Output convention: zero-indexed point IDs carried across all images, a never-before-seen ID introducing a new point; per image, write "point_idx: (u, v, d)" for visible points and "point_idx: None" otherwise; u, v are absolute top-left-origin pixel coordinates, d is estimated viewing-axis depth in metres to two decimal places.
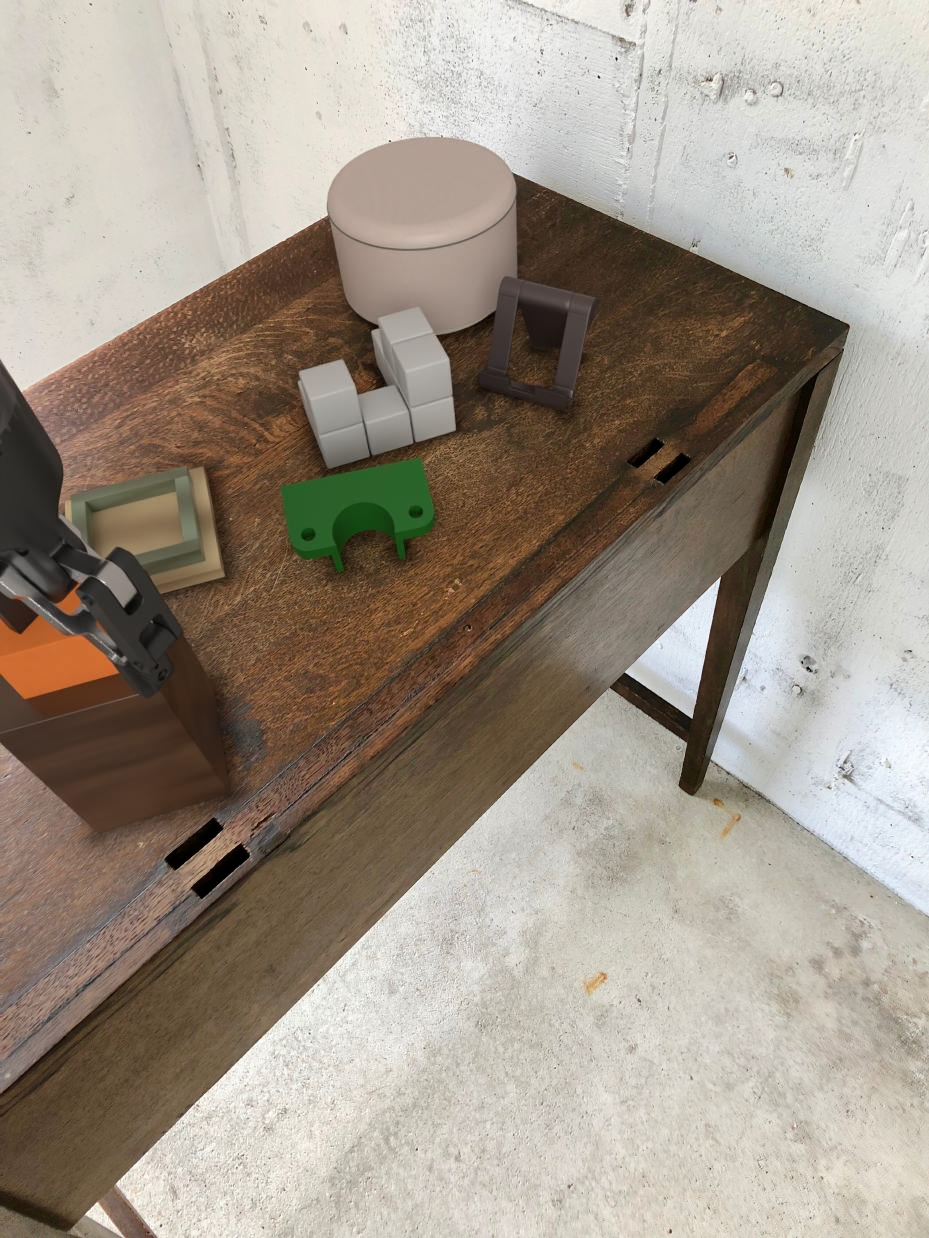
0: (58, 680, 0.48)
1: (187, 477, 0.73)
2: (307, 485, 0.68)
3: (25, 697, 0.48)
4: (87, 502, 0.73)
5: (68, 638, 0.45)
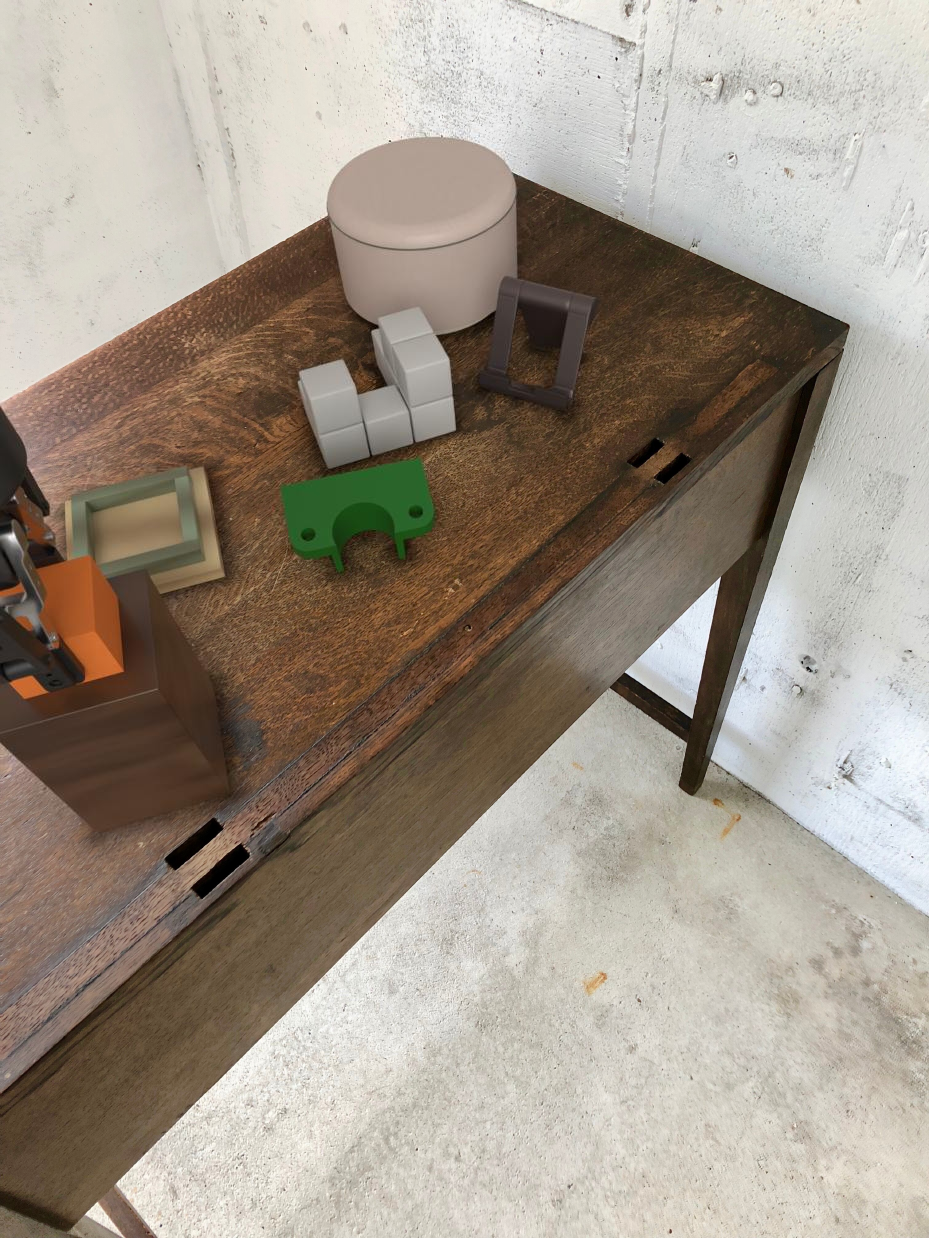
0: None
1: (187, 477, 0.73)
2: (307, 485, 0.68)
3: (25, 697, 0.48)
4: (87, 502, 0.73)
5: (68, 638, 0.45)
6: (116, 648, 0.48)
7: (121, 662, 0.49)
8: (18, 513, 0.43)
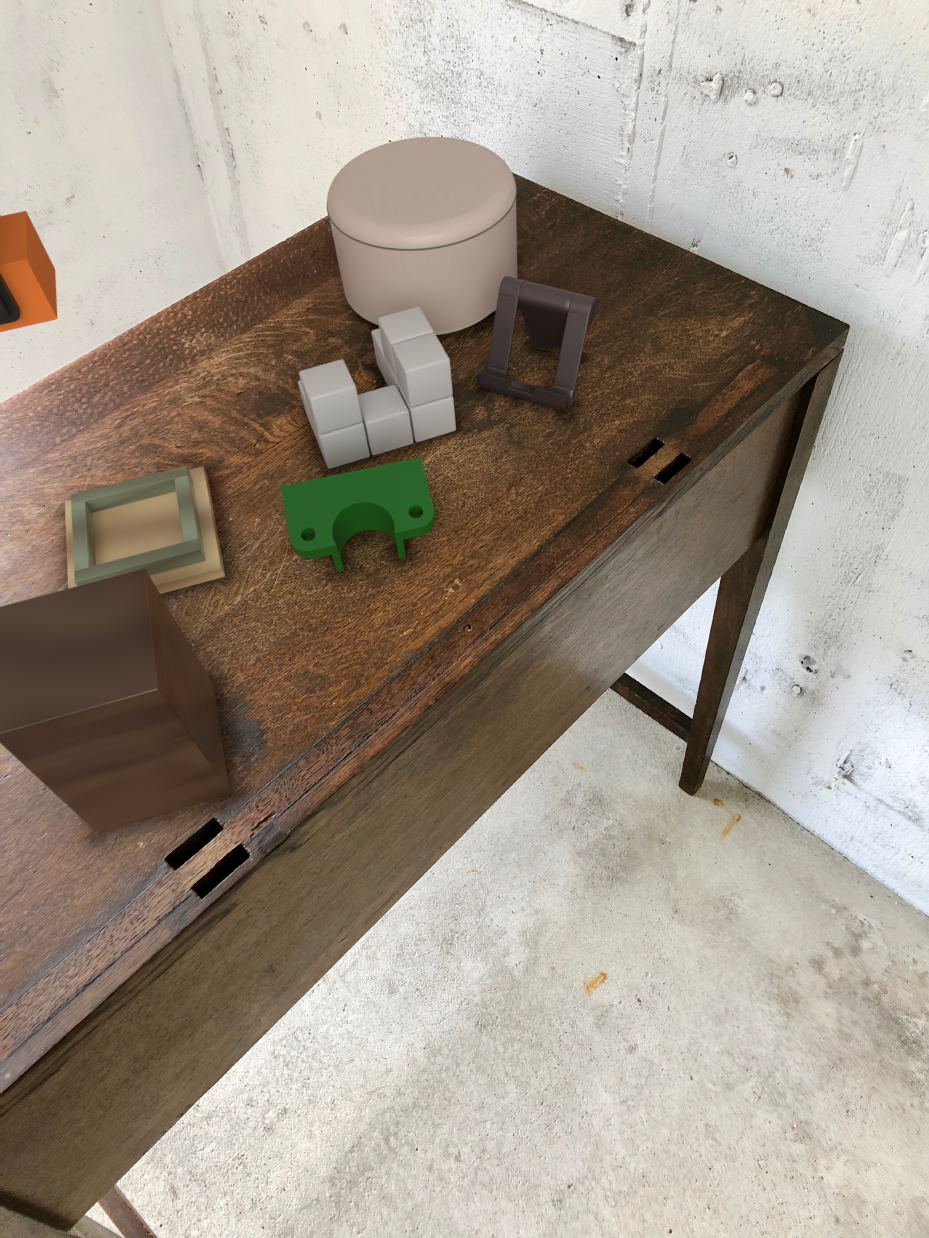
0: None
1: (187, 477, 0.73)
2: (307, 485, 0.68)
3: None
4: (87, 502, 0.73)
5: (2, 264, 0.50)
6: (50, 296, 0.53)
7: (55, 310, 0.53)
8: None
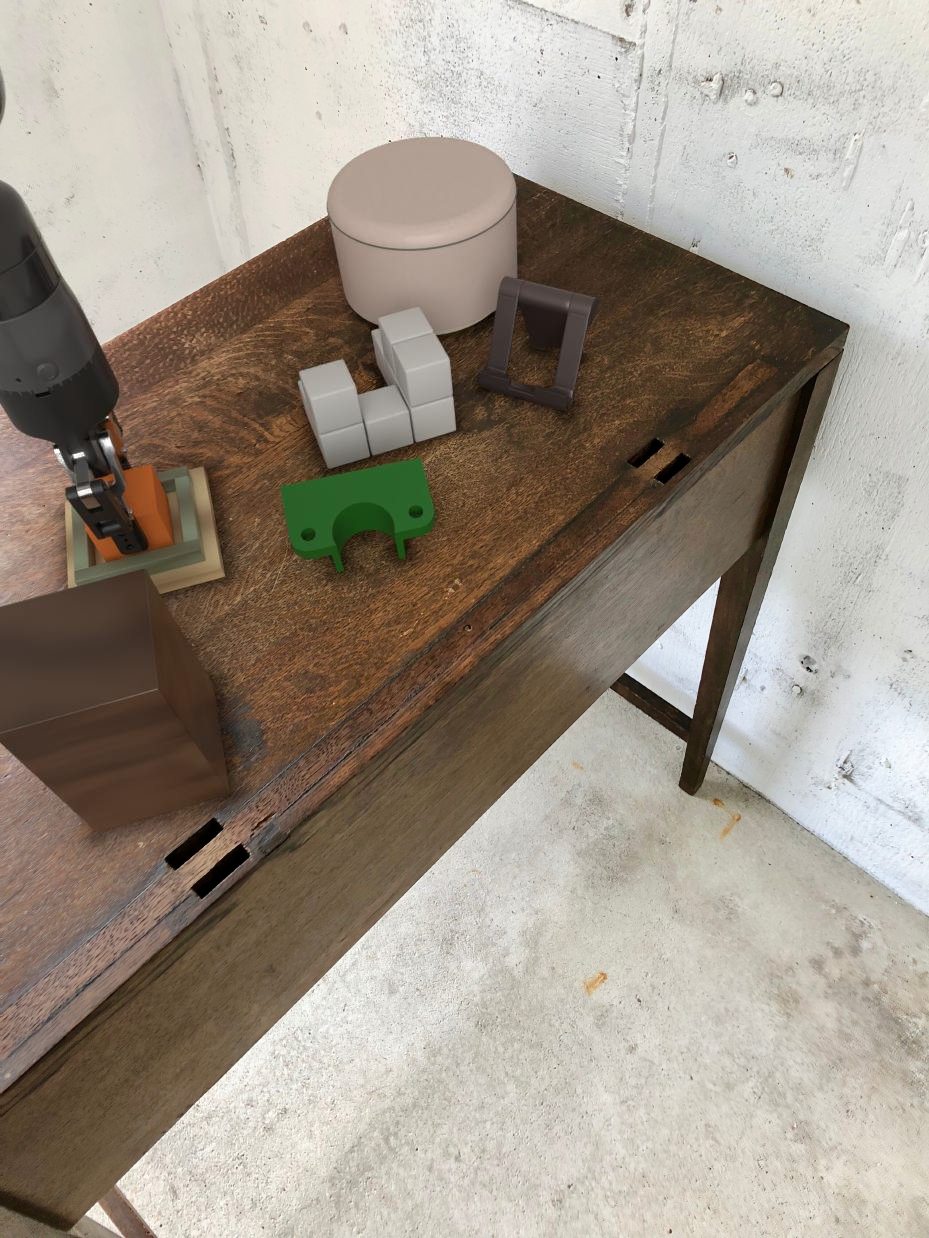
0: None
1: (187, 477, 0.73)
2: (307, 485, 0.68)
3: (106, 561, 0.70)
4: None
5: (139, 515, 0.67)
6: (169, 528, 0.70)
7: (172, 538, 0.70)
8: (108, 428, 0.65)
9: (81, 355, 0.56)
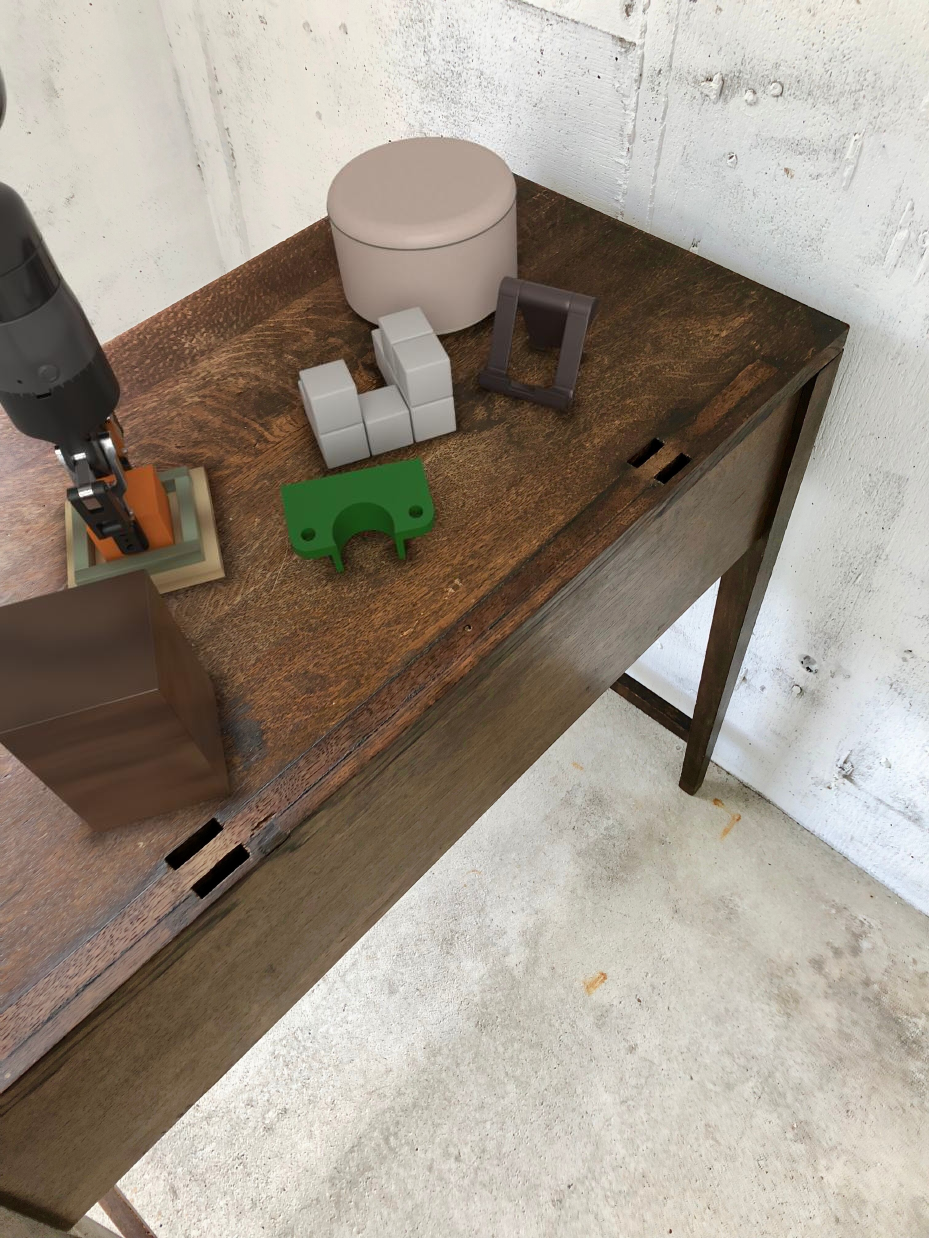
0: None
1: (187, 477, 0.73)
2: (307, 485, 0.68)
3: (107, 561, 0.70)
4: None
5: (140, 516, 0.67)
6: (170, 528, 0.70)
7: (173, 538, 0.71)
8: (109, 429, 0.65)
9: (82, 356, 0.56)
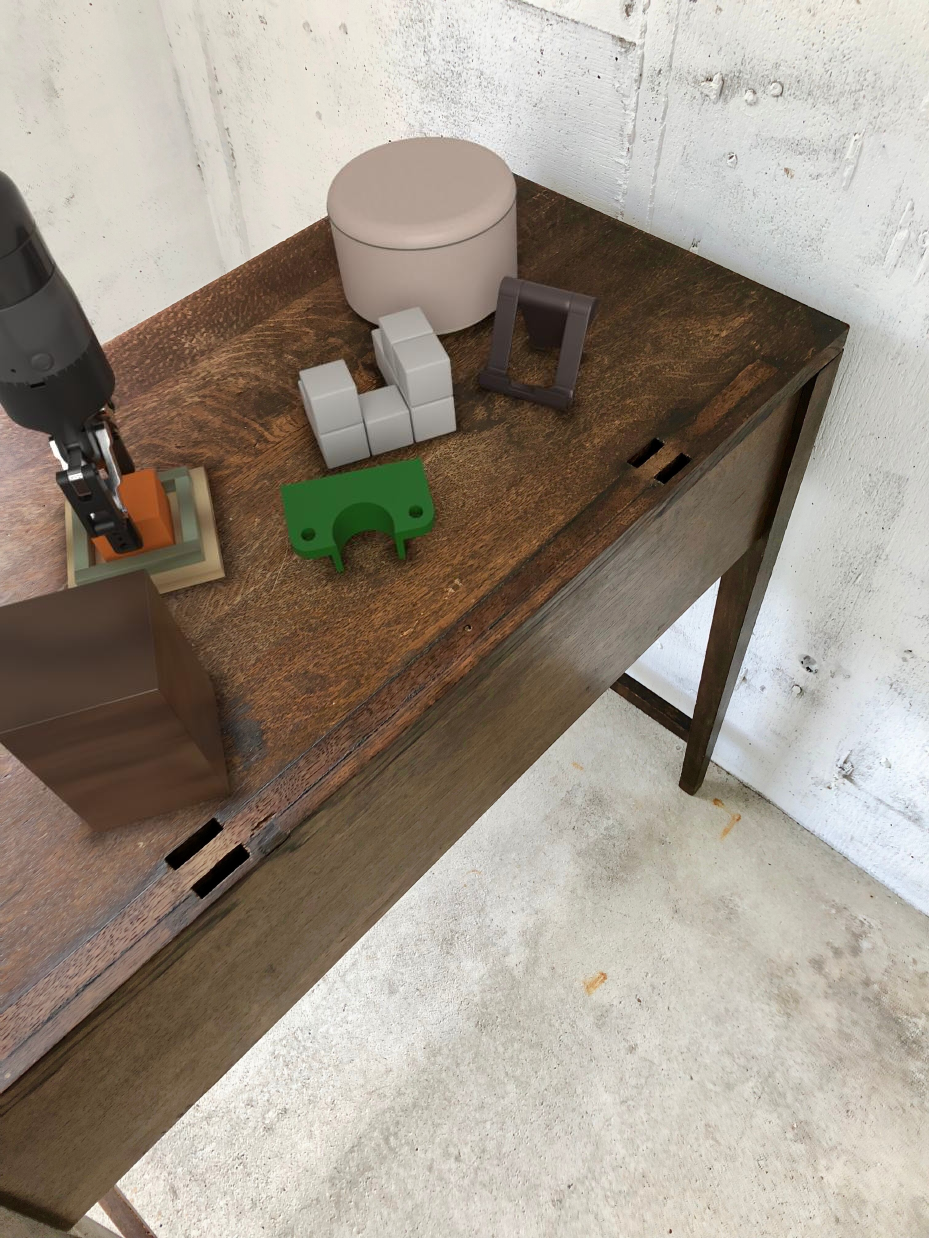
0: (132, 552, 0.70)
1: (187, 477, 0.73)
2: (307, 485, 0.68)
3: None
4: None
5: (141, 519, 0.67)
6: (171, 532, 0.71)
7: (174, 542, 0.71)
8: (104, 420, 0.64)
9: (76, 345, 0.55)
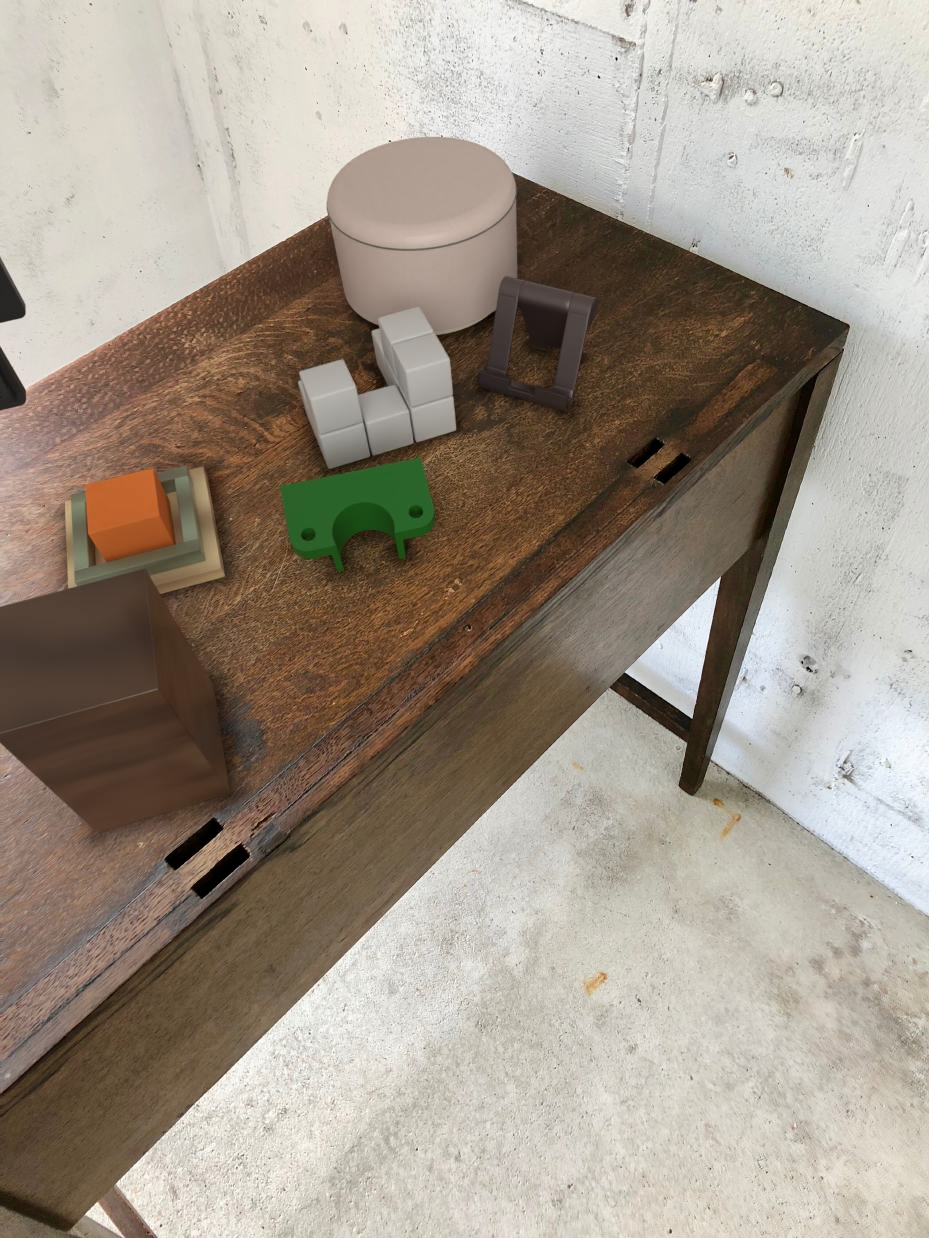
0: (132, 552, 0.70)
1: (187, 477, 0.73)
2: (307, 485, 0.68)
3: None
4: None
5: (141, 519, 0.67)
6: (171, 532, 0.71)
7: (174, 542, 0.71)
8: None
9: None
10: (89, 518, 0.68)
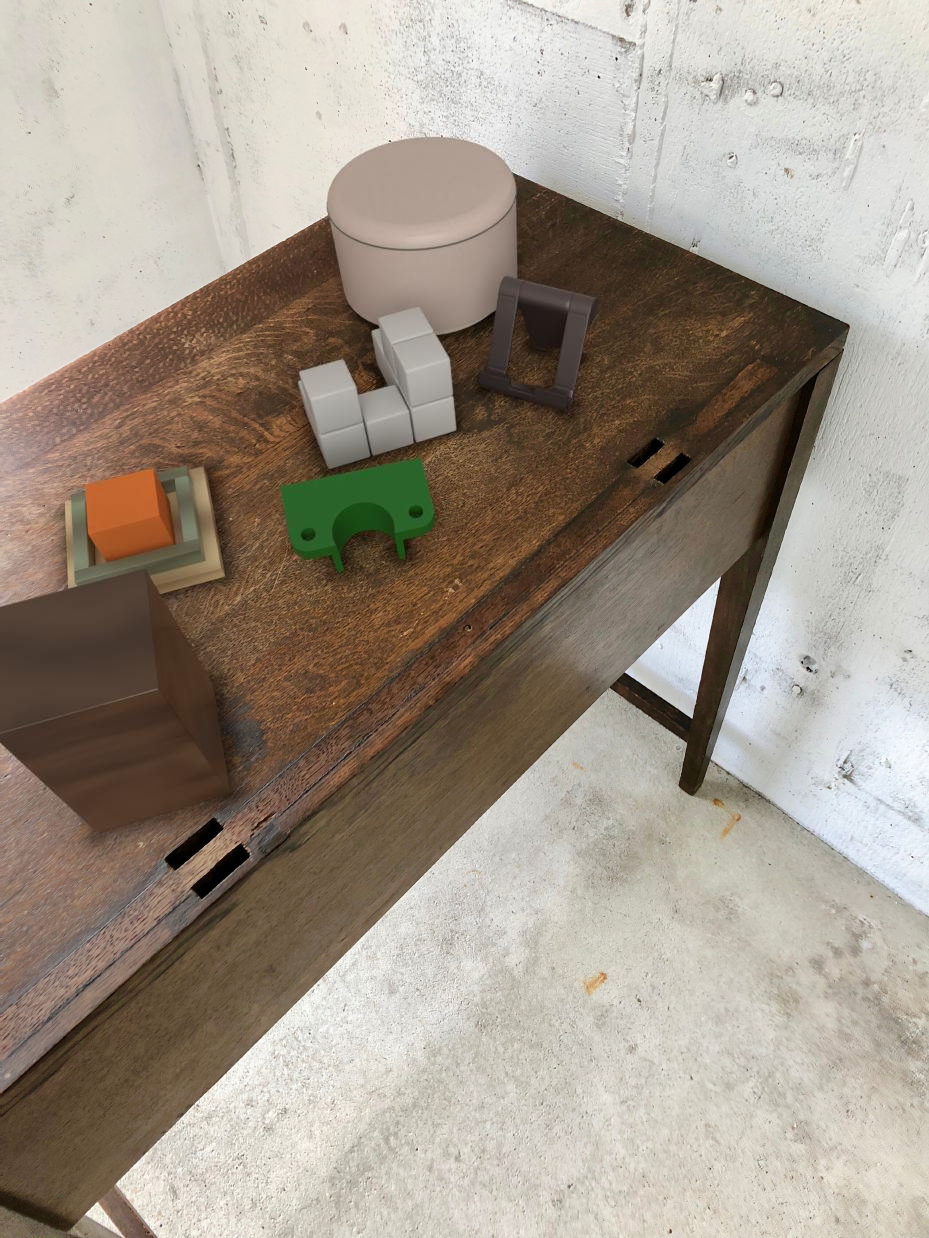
0: (132, 552, 0.70)
1: (187, 477, 0.73)
2: (307, 485, 0.68)
3: None
4: None
5: (141, 519, 0.67)
6: (171, 532, 0.71)
7: (174, 542, 0.71)
8: None
9: None
10: (89, 518, 0.68)
